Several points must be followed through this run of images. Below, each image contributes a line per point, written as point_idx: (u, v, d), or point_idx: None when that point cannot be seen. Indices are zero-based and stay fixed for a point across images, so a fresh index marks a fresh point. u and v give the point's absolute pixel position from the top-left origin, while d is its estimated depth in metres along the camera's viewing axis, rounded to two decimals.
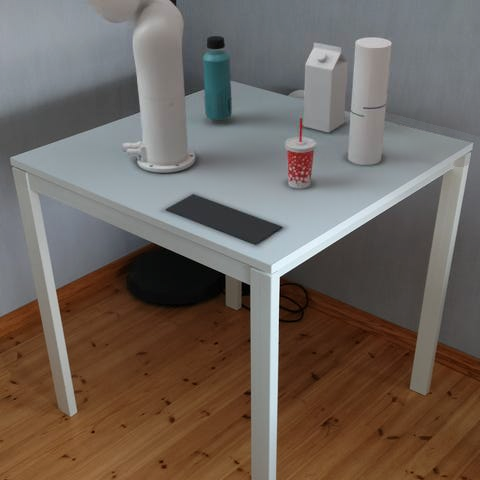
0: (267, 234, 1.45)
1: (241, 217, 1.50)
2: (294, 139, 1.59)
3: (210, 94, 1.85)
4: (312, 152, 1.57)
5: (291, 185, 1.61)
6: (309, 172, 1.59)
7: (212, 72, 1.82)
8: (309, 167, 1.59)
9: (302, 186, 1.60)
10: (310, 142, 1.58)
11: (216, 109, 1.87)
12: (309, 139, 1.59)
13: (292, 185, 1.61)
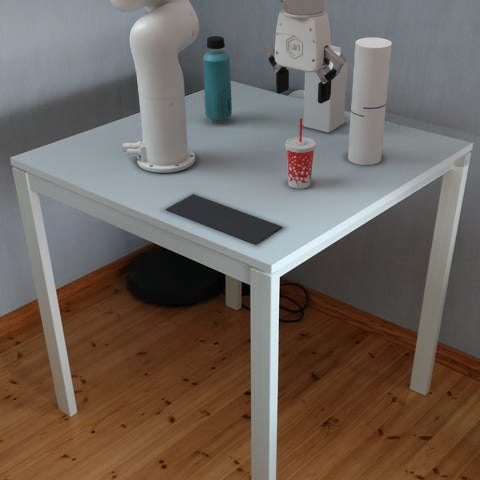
0: (267, 234, 1.45)
1: (241, 217, 1.50)
2: (294, 139, 1.59)
3: (210, 94, 1.85)
4: (312, 152, 1.57)
5: (291, 185, 1.61)
6: (309, 172, 1.59)
7: (212, 72, 1.82)
8: (309, 167, 1.59)
9: (302, 186, 1.60)
10: (310, 142, 1.58)
11: (216, 109, 1.87)
12: (309, 139, 1.59)
13: (292, 185, 1.61)
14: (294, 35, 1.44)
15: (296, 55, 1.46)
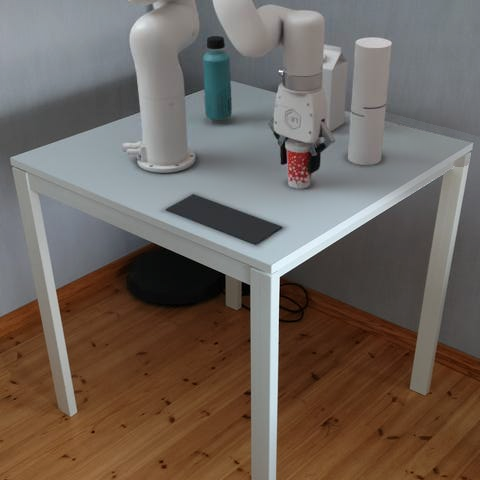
0: (267, 234, 1.45)
1: (241, 217, 1.50)
2: None
3: (210, 94, 1.85)
4: None
5: (291, 185, 1.61)
6: None
7: (212, 72, 1.82)
8: None
9: (302, 186, 1.60)
10: None
11: (216, 109, 1.87)
12: None
13: (292, 185, 1.61)
14: (292, 108, 1.52)
15: (294, 126, 1.53)
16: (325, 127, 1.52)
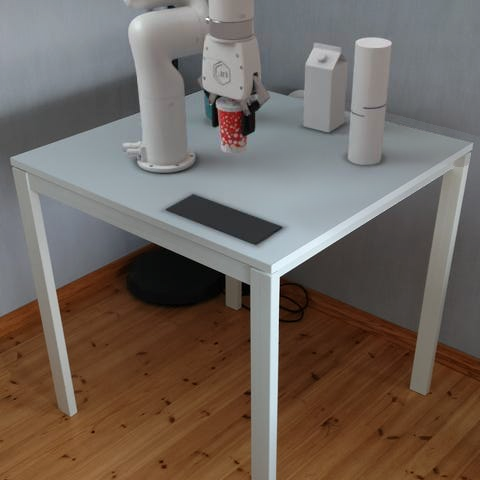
0: (267, 234, 1.45)
1: (241, 217, 1.50)
2: (227, 98, 1.42)
3: None
4: None
5: (224, 150, 1.44)
6: None
7: None
8: None
9: (236, 151, 1.43)
10: None
11: None
12: None
13: (225, 150, 1.43)
14: (220, 61, 1.34)
15: (224, 82, 1.36)
16: (258, 82, 1.35)
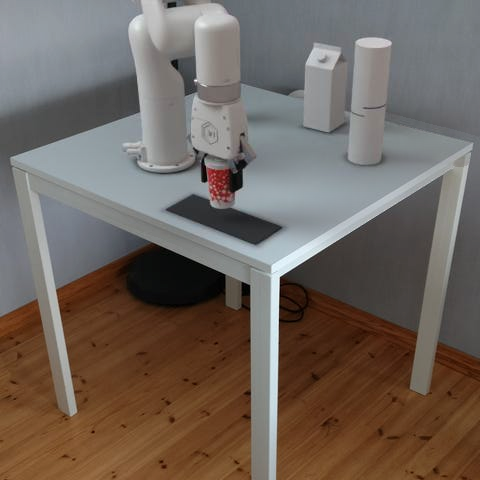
0: (267, 234, 1.45)
1: (241, 217, 1.50)
2: None
3: None
4: None
5: (213, 205, 1.47)
6: None
7: None
8: None
9: (225, 206, 1.46)
10: None
11: None
12: None
13: (214, 205, 1.47)
14: (208, 122, 1.38)
15: (211, 141, 1.39)
16: (245, 142, 1.38)
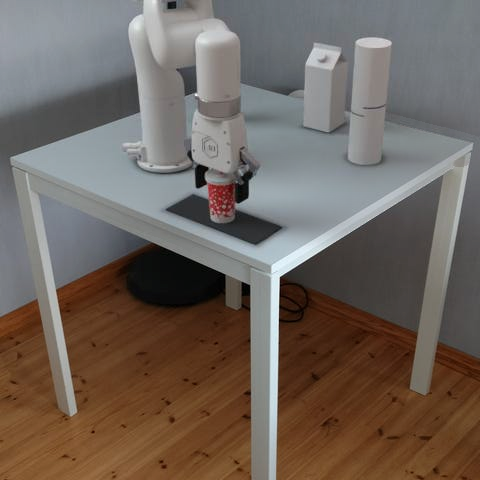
0: (267, 234, 1.45)
1: (241, 217, 1.50)
2: (215, 170, 1.47)
3: None
4: (234, 184, 1.45)
5: (213, 219, 1.49)
6: (232, 206, 1.47)
7: None
8: (231, 200, 1.46)
9: (225, 220, 1.48)
10: None
11: None
12: None
13: (214, 219, 1.49)
14: (209, 136, 1.39)
15: (212, 155, 1.41)
16: (246, 153, 1.39)
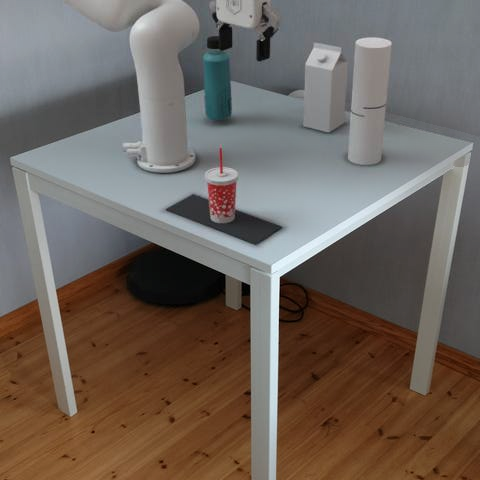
0: (267, 234, 1.45)
1: (241, 217, 1.50)
2: (215, 170, 1.47)
3: (210, 94, 1.85)
4: (234, 184, 1.45)
5: (213, 219, 1.49)
6: (232, 206, 1.47)
7: (212, 72, 1.82)
8: (231, 200, 1.46)
9: (225, 220, 1.48)
10: (232, 173, 1.46)
11: (216, 109, 1.87)
12: (232, 170, 1.47)
13: (214, 219, 1.49)
14: None
15: (235, 11, 1.46)
16: (268, 8, 1.44)
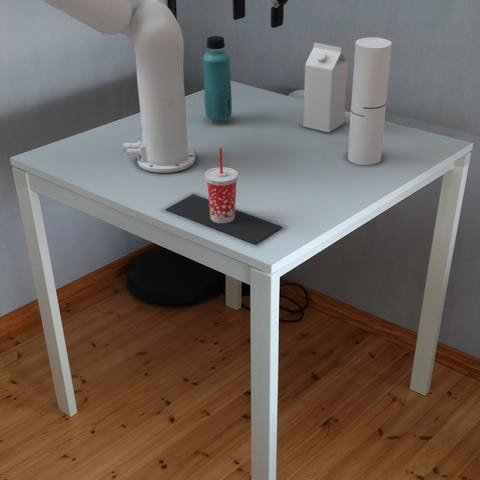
0: (267, 234, 1.45)
1: (241, 217, 1.50)
2: (215, 170, 1.47)
3: (210, 94, 1.85)
4: (234, 184, 1.45)
5: (213, 219, 1.49)
6: (232, 206, 1.47)
7: (212, 72, 1.82)
8: (231, 200, 1.46)
9: (225, 220, 1.48)
10: (232, 173, 1.46)
11: (216, 109, 1.87)
12: (232, 170, 1.47)
13: (214, 219, 1.49)
14: None
15: None
16: None
